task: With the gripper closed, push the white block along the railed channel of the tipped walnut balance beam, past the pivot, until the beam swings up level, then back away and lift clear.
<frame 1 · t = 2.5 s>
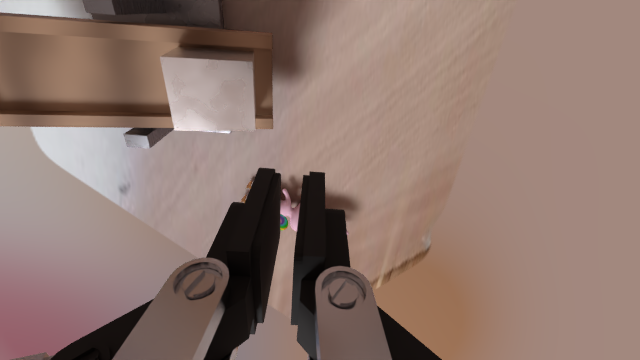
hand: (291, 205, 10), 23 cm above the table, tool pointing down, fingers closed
balance beam: (132, 77, 23), point 7 cm above the table, hinge at -10.8°, touching white block
pink animal figure: (297, 205, 40), on the table
pivot stand: (169, 62, 29), on the table
white block: (220, 81, 25), point 6 cm above the table, tilted 11°, touching balance beam
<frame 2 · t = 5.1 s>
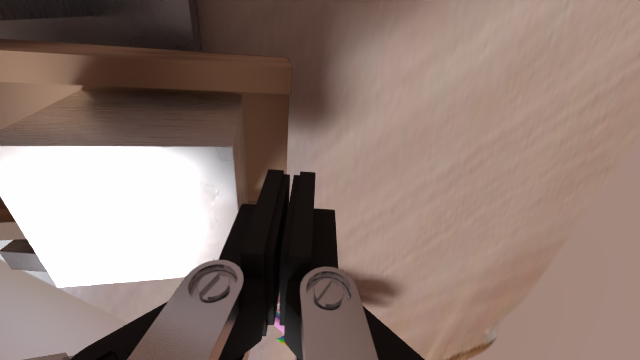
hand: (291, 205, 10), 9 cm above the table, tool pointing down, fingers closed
balance beam: (5, 148, 12), point 7 cm above the table, hinge at -11.0°, touching white block
pivot stand: (111, 98, 18), on the table
white block: (177, 150, 13), point 6 cm above the table, tilted 11°, touching balance beam, gripper
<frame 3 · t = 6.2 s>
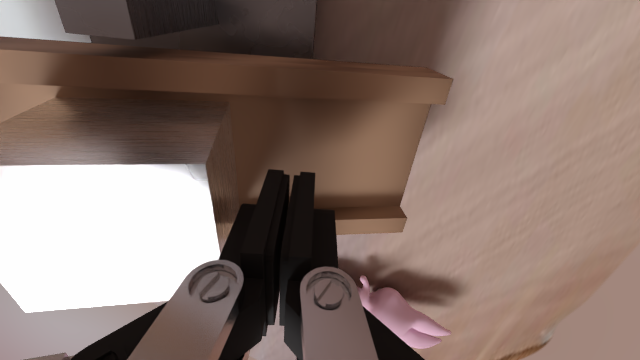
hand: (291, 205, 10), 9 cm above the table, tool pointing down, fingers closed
balance beam: (163, 154, 12), point 7 cm above the table, hinge at -10.0°, touching white block
pink animal figure: (372, 288, 28), on the table
pivot stand: (215, 103, 18), on the table
white block: (162, 160, 12), point 7 cm above the table, tilted 10°, touching balance beam
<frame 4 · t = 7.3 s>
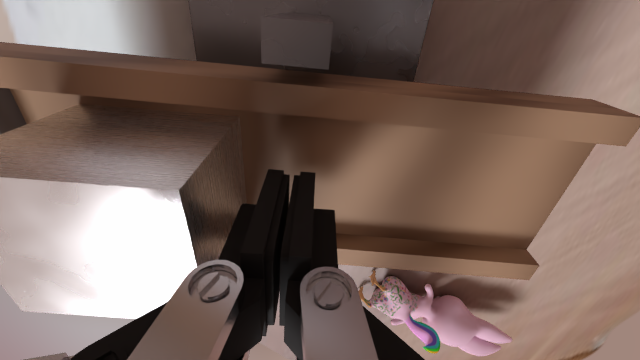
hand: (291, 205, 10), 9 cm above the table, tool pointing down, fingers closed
balance beam: (293, 174, 12), point 7 cm above the table, hinge at 0.8°
pink animal figure: (429, 295, 28), on the table
pivot stand: (304, 118, 18), on the table
white block: (173, 170, 12), point 7 cm above the table, touching gripper
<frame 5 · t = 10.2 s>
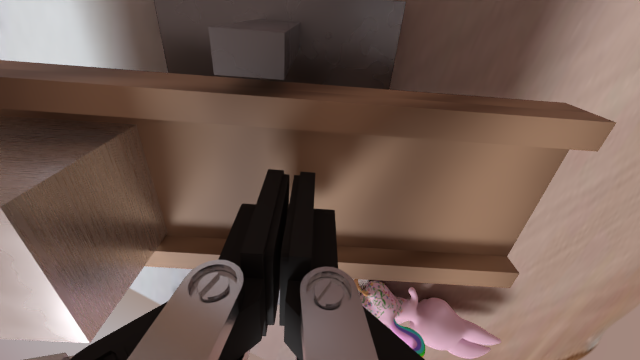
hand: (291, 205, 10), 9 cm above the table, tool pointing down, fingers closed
balance beam: (262, 186, 12), point 7 cm above the table, hinge at 1.0°, touching white block
pink animal figure: (415, 298, 27), on the table
pivot stand: (282, 125, 18), on the table
white block: (80, 180, 11), point 7 cm above the table, touching balance beam
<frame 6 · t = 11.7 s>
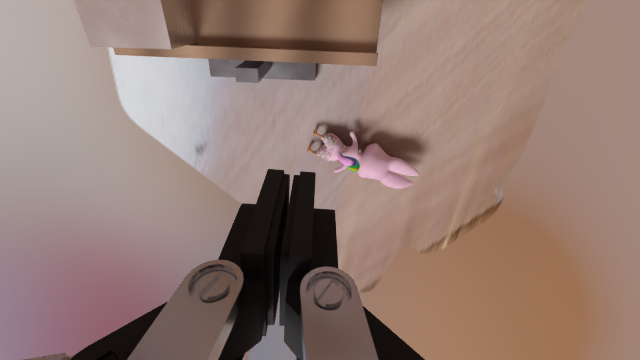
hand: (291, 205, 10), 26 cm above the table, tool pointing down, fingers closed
balance beam: (244, 7, 24), point 7 cm above the table, hinge at 1.0°, touching white block
pink animal figure: (361, 152, 39), on the table
pivot stand: (260, 7, 30), on the table
white block: (156, 6, 24), point 7 cm above the table, touching balance beam
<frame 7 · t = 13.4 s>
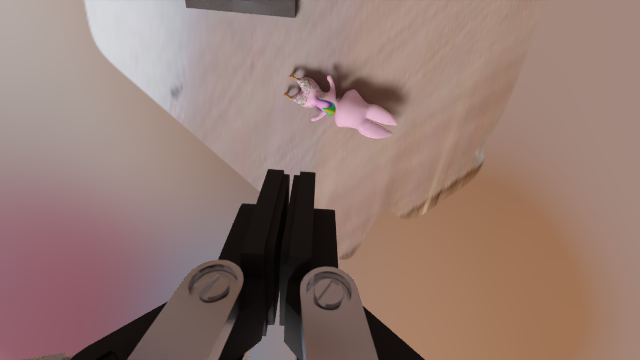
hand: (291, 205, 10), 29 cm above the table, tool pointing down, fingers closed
pink animal figure: (340, 102, 38), on the table
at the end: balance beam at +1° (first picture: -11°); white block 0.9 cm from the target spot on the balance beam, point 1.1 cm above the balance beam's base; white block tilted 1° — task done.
